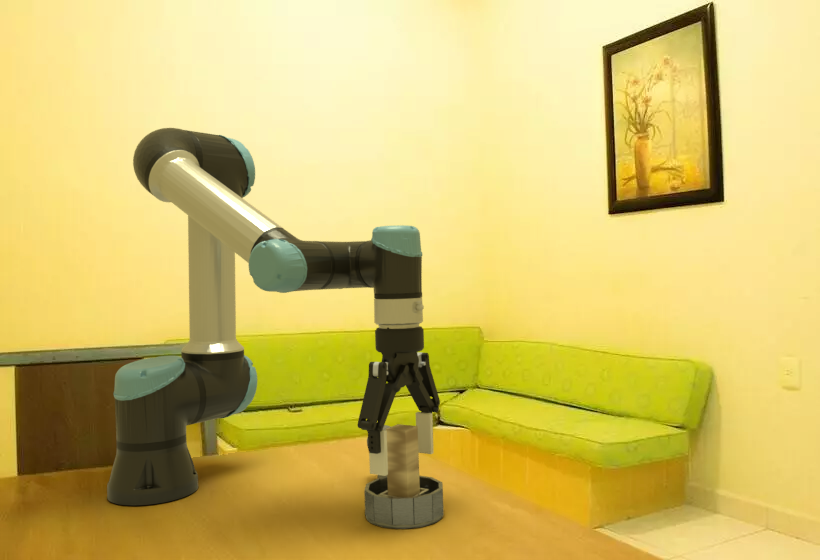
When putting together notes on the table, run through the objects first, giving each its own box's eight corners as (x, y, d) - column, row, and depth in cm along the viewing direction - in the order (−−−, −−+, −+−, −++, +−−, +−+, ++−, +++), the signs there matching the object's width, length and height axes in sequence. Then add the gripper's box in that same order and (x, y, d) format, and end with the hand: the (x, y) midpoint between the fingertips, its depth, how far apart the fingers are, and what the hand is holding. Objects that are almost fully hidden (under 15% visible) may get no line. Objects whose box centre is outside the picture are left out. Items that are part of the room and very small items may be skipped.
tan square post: (388, 512, 111) (385, 429, 110) (401, 505, 114) (397, 424, 114) (408, 516, 109) (405, 431, 109) (420, 509, 112) (417, 426, 112)
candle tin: (350, 521, 109) (349, 491, 109) (393, 498, 120) (392, 471, 119) (418, 534, 103) (417, 503, 103) (457, 509, 113) (456, 480, 113)
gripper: (373, 333, 98) (378, 488, 99) (458, 320, 120) (461, 447, 120) (330, 332, 102) (334, 481, 103) (419, 319, 123) (422, 442, 124)
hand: (403, 463), depth 111 cm, fingers open, 13 cm apart
